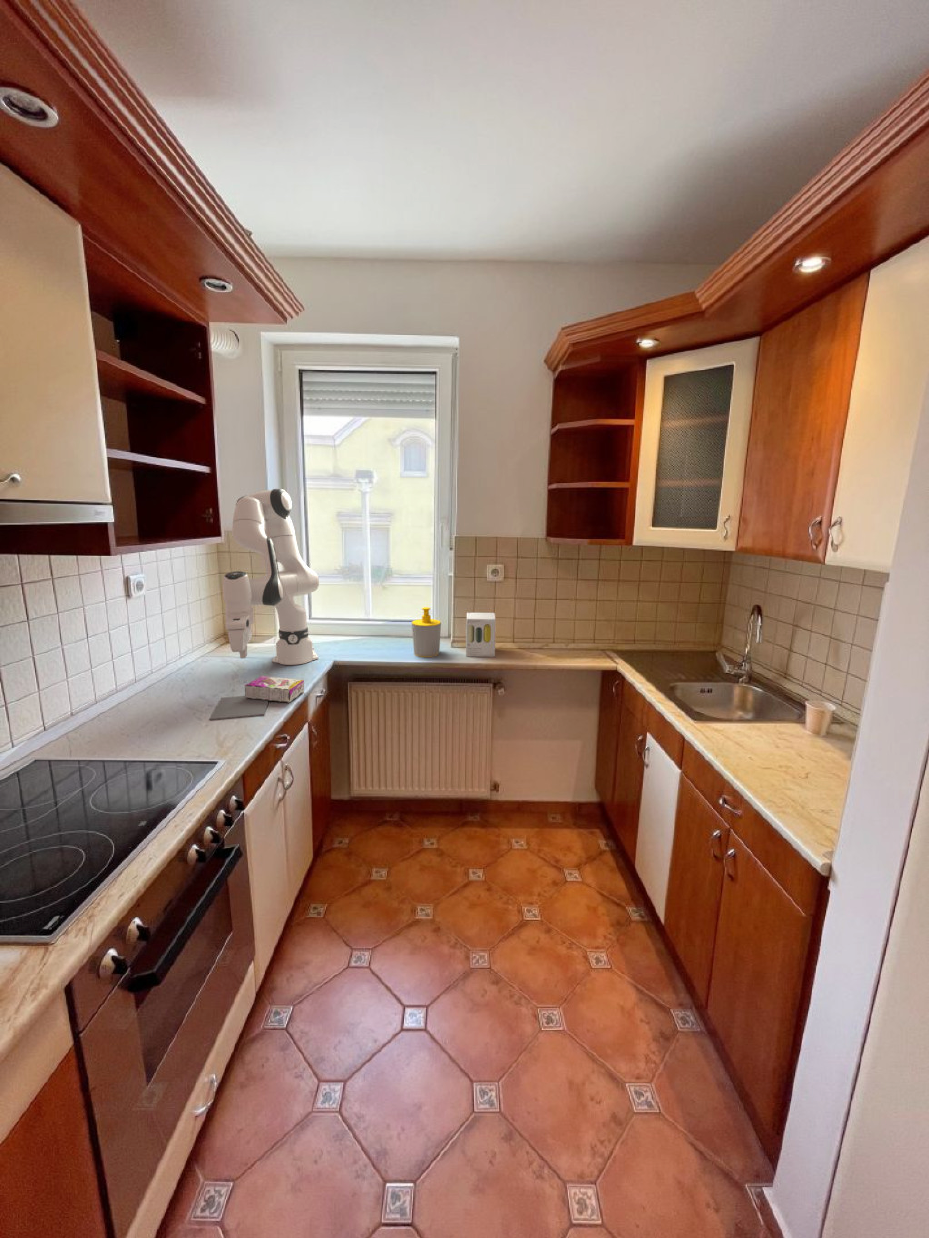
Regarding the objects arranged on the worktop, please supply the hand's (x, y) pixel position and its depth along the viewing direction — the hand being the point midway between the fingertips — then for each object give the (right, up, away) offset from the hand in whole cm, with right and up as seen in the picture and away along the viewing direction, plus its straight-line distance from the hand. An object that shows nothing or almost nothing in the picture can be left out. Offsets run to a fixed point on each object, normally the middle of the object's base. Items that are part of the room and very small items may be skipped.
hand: (243, 657), depth 177 cm
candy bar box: (+3, -10, 0) cm, 11 cm away
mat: (+4, -16, -9) cm, 19 cm away
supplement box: (+85, -2, +54) cm, 101 cm away
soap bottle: (+61, -2, +52) cm, 80 cm away
